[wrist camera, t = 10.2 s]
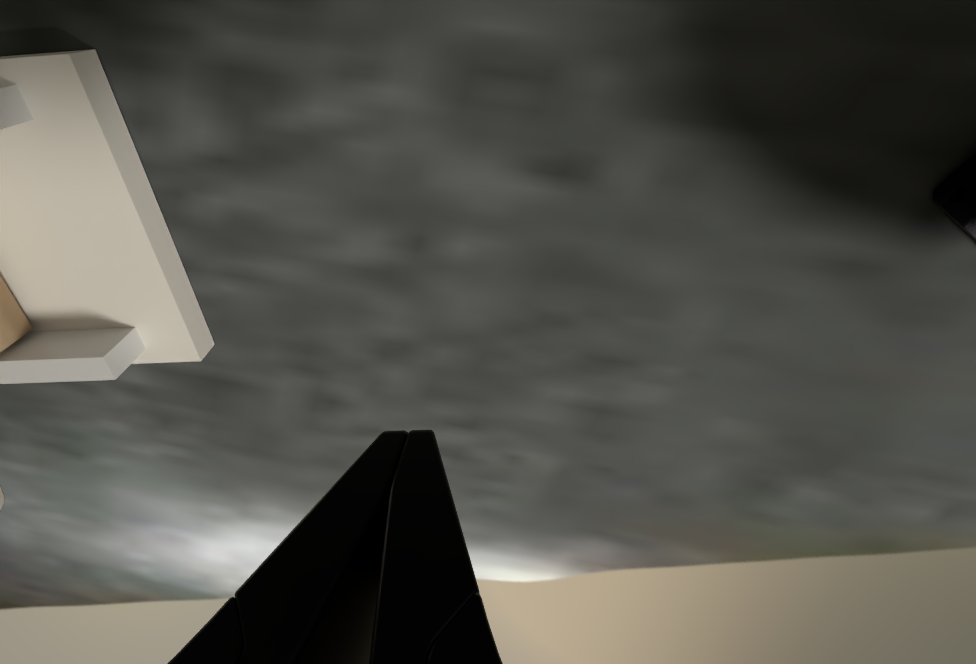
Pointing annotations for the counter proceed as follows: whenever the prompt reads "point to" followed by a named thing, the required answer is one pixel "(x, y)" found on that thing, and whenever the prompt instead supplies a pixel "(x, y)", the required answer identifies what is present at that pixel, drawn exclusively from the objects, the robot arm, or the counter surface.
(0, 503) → the coffee cup
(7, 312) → the light wood block
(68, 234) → the housing
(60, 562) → the counter surface
